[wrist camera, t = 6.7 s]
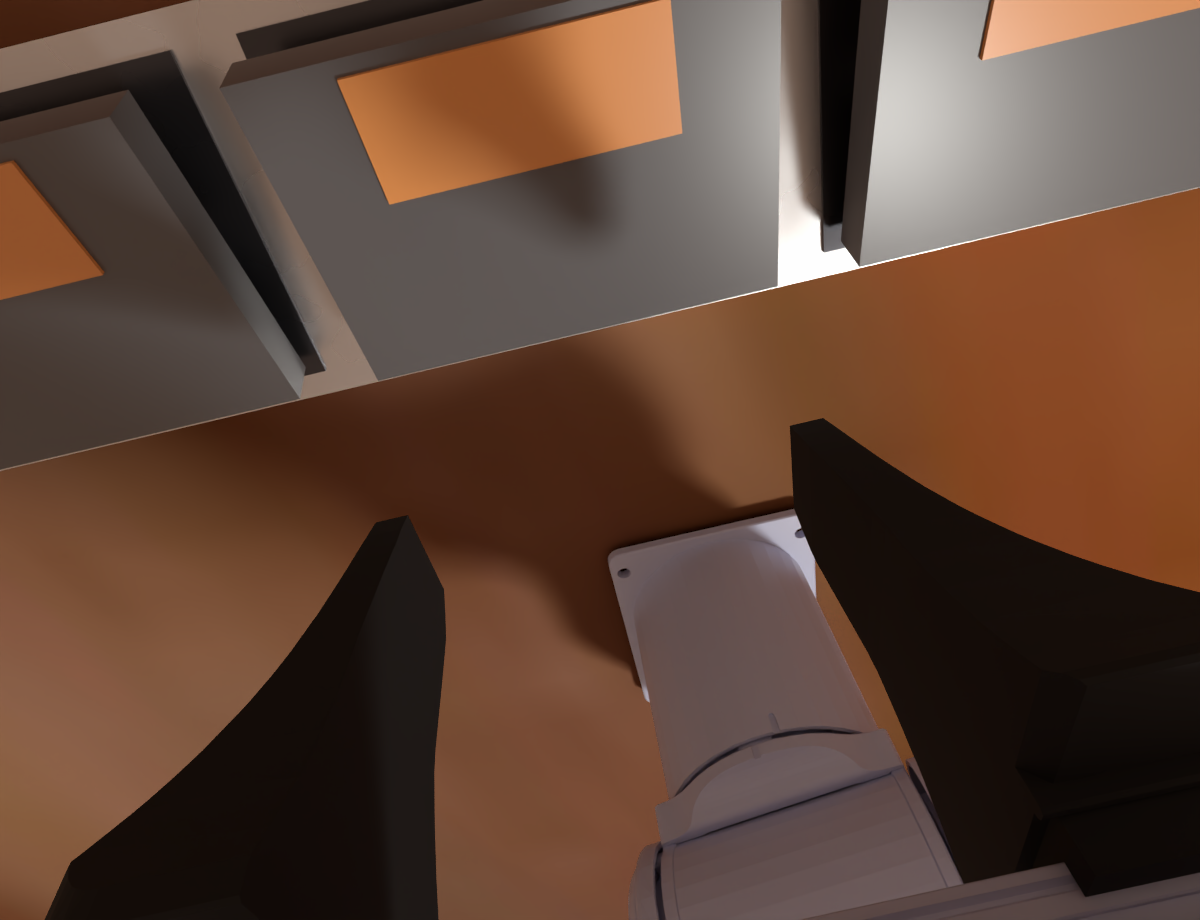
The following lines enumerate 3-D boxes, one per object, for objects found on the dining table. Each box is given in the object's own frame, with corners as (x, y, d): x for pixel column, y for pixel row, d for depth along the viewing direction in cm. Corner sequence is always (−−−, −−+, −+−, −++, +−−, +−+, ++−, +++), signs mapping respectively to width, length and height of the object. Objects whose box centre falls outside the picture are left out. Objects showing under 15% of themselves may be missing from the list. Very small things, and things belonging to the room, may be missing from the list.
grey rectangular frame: (1221, 138, 18) (1277, 171, 17) (833, 230, 19) (860, 269, 18) (1399, -238, 13) (1496, -229, 12) (858, -102, 14) (899, -80, 12)
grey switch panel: (1178, 149, 22) (1271, 177, 19) (-12, 432, 23) (-79, 496, 20) (1289, -280, 16) (1439, -322, 14) (-282, 117, 17) (-420, 148, 15)
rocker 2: (757, 248, 19) (779, 288, 18) (381, 338, 19) (378, 383, 18) (753, -76, 14) (783, -51, 12) (237, 53, 14) (217, 90, 13)
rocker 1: (307, 354, 19) (299, 401, 18) (-55, 441, 19) (-87, 492, 18) (135, 78, 14) (107, 119, 13) (-358, 202, 14) (-431, 253, 13)
